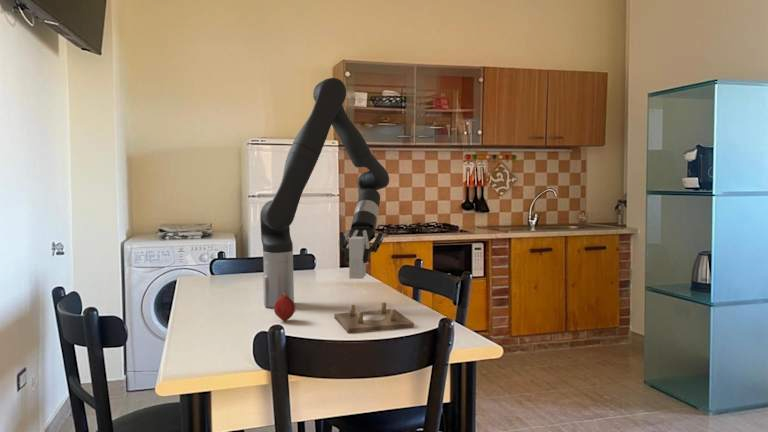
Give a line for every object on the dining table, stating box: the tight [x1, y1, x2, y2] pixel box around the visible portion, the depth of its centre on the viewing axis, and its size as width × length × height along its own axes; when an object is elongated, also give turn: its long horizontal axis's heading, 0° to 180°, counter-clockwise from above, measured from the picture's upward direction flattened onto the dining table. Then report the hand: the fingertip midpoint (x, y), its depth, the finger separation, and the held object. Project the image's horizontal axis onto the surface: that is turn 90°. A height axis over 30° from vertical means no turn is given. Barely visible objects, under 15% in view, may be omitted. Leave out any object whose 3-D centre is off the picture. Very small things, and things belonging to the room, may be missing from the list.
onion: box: [273, 293, 296, 322], centre depth 175 cm, size 6×6×8 cm
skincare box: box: [348, 237, 367, 280], centre depth 186 cm, size 6×4×12 cm
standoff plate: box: [333, 302, 415, 334], centre depth 172 cm, size 18×18×4 cm
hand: (356, 261), depth 184 cm, fingers closed on skincare box, 4 cm apart
